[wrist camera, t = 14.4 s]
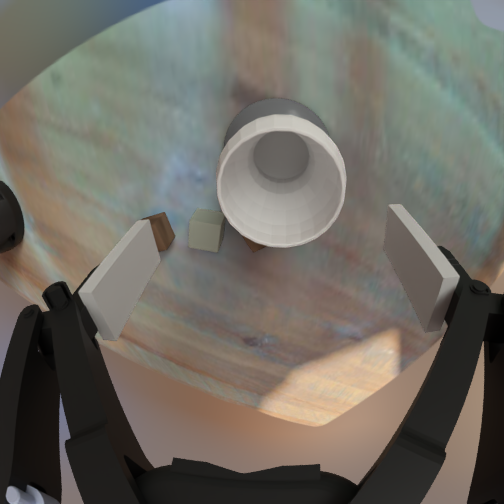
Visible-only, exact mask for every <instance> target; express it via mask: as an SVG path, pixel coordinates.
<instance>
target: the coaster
mask: <svg viewBox="0 0 504 504" xmlns="http://www.w3.org/2000/svg"><path fill="white" fill-rule="evenodd" d="M274 114H279V115H293V116H296V117H299V118H302V119H305V120H308V121H310V122H311V123H313V124H314V125H316V126H317V127H319V128H320V129H322V130H323V131H324V132H325V133H326V134H327V135H328V137H329V134H328V132H327V129H326V127H325V125H324V124H323V122H322V121H321V119H320V118H319V117H318V116H317V115H316V114H315V113H314V112H313V111H312V110H310V109H309V108H308V107H306V106H304V105H302V104H301V103H298V102H296V101H293V100H289V99H282V98H271V99H265V100H261V101H258V102H256V103H253V104H251V105H250V106H248V107H246V108H245V109H244V110H242V111H241V112H240V113H239V114H238V115H237V116H236V117H235V118H234V120H233V121H232V123H231V124H230V126H229V128H228V131H227V133H226V137H225V142H224V147H225V146H226V144H227V142H228V141H229V140H230V139H231V138H232V137H233V136H234V135H235V134H236V133H237V132H238V131H239V130H240V129H241V128H242V127H243V126H245V125H246V124H248V123H250V122H252V121H254V120H256V119H257V118H261V117H265V116H269V115H274ZM329 138H330V137H329Z"/></svg>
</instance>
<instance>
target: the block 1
mask: <svg viewBox="0 0 504 504" xmlns="http://www.w3.org/2000/svg"><path fill="white" fill-rule="evenodd" d="M147 219H149V221H150V224H151V228H152V232H153V235H154V239H155V242H156V246H157V249H158V252H159V251H163V250H167V248H168V247H169V245H170V243H171V242H172V240H173V239H174V237H175V234H174V232H173V230H172V228H171V225H170V223H169V221H168V218H167V216H166V214H165V212H163V213H160V214H156V215H153V216H150V217H146V218H143V219H142V220H147Z"/></svg>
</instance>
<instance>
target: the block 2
mask: <svg viewBox="0 0 504 504" xmlns="http://www.w3.org/2000/svg"><path fill="white" fill-rule="evenodd" d="M225 218H226V217H225V215H224V214H223V212H218V211H212V210H206V209H200V208H197V210H196V211H195V213H194V214H193V216H192V217H191V219H190V223H189V242H188V247H189V248H195V249H200V250H206V251H211V252H217V253H218V251H219V248H220V245H221V242H222V240H223V234H224V226H225Z"/></svg>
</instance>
